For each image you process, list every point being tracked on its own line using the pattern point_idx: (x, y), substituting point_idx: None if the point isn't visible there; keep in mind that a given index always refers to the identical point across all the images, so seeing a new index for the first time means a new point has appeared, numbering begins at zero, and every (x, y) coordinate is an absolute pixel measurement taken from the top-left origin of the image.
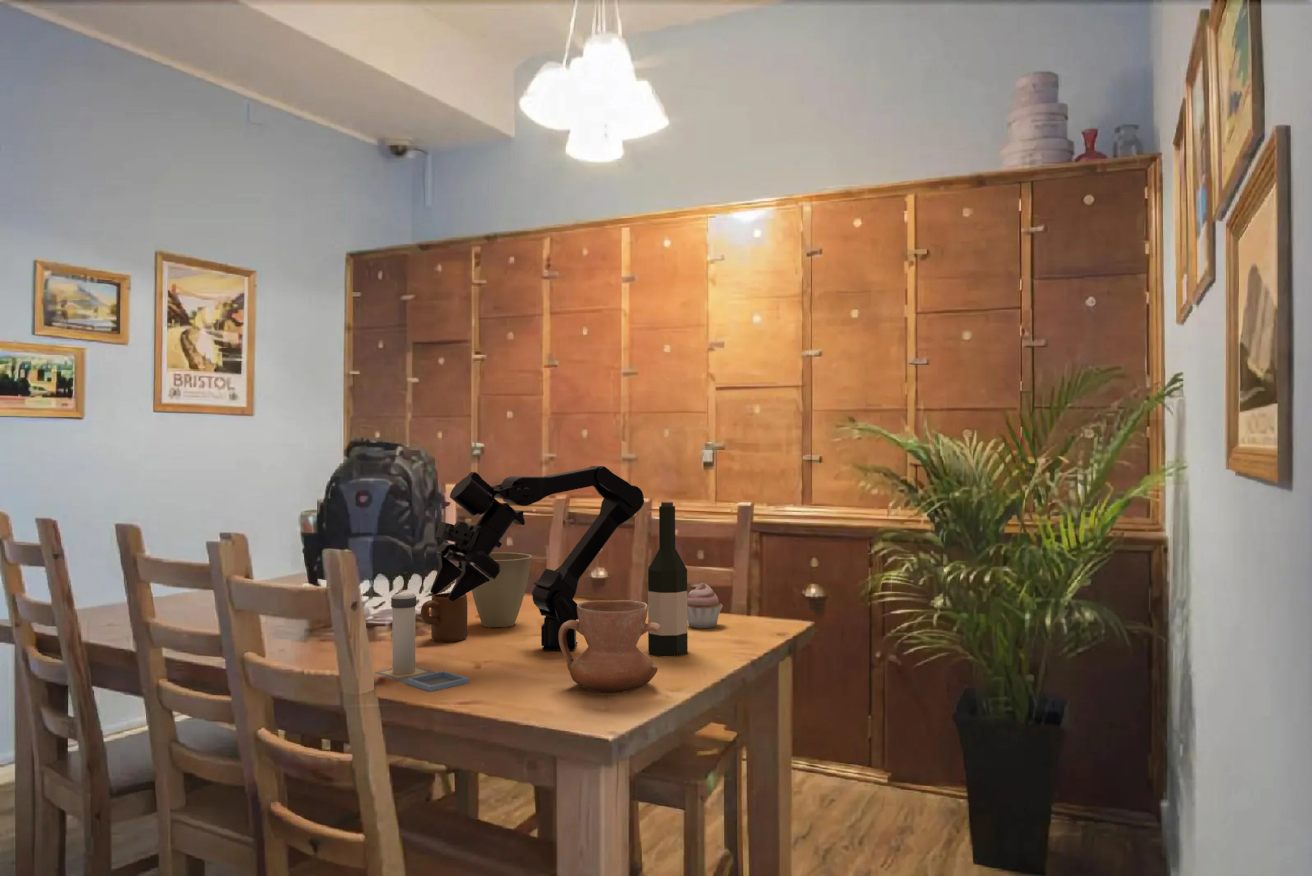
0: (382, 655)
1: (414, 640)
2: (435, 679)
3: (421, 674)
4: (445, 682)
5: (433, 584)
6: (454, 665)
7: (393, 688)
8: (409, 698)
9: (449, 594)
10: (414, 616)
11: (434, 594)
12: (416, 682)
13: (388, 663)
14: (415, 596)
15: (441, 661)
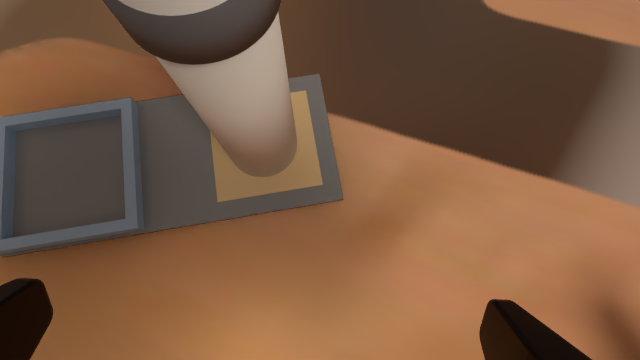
0: (553, 180)
1: (210, 129)
2: (114, 186)
3: (202, 176)
4: (1, 171)
5: (558, 350)
6: (267, 326)
7: (135, 70)
8: (14, 68)
9: (6, 297)
10: (172, 77)
11: (482, 334)
12: (71, 106)
13: (428, 157)
14: (143, 14)
15: (352, 313)
